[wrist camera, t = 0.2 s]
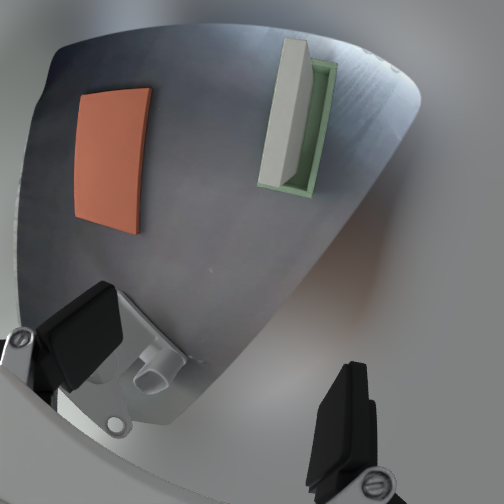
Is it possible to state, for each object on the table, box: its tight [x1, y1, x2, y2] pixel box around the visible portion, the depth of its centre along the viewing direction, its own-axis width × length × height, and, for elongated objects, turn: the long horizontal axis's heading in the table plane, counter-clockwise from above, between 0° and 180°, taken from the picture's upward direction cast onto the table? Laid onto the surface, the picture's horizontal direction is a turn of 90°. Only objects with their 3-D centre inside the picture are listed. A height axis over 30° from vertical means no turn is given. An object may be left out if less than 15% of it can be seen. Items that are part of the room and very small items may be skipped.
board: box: [259, 38, 315, 187], centre depth 20 cm, size 10×1×12 cm, turn 171°
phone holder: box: [58, 291, 187, 439], centre depth 36 cm, size 17×10×18 cm, turn 46°
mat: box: [74, 88, 152, 235], centre depth 33 cm, size 20×14×1 cm
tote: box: [257, 54, 338, 198], centre depth 24 cm, size 14×5×4 cm, turn 171°
